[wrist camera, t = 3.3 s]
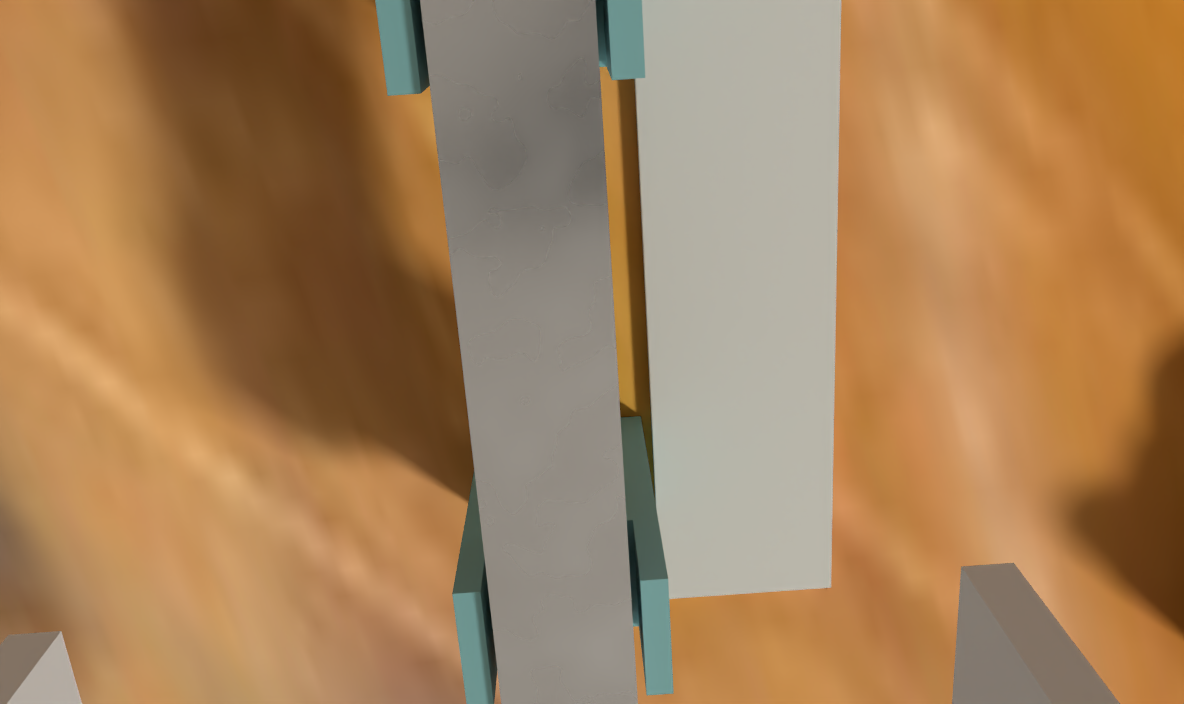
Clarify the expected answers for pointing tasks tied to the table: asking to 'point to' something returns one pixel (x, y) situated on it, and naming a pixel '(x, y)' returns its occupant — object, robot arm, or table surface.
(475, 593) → the post
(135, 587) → the table surface
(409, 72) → the post
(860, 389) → the table surface
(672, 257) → the white flat board
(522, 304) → the rail
